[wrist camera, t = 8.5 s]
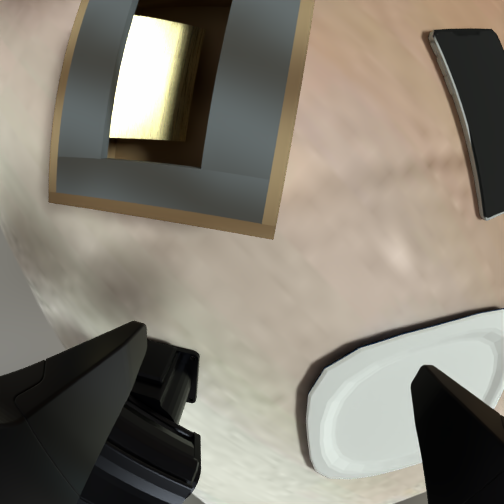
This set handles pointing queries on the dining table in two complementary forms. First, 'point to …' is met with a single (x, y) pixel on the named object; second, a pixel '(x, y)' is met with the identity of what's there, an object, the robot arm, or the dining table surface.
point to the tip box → (200, 117)
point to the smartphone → (477, 105)
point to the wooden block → (156, 80)
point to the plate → (396, 393)
